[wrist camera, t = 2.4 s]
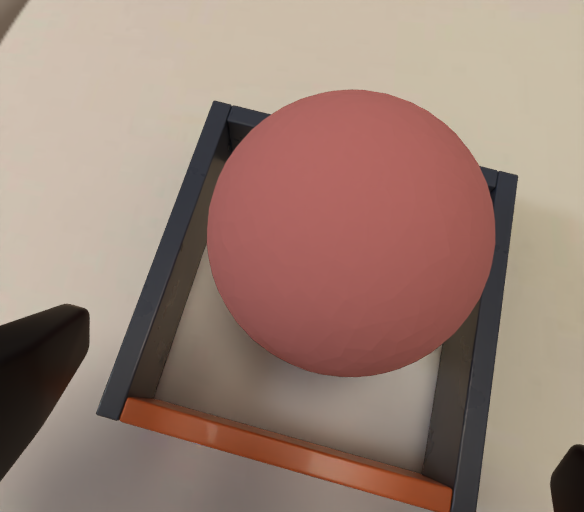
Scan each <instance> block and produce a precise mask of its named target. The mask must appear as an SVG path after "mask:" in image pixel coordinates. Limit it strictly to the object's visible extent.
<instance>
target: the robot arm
mask: <svg viewBox="0 0 584 512" xmlns="http://www.w3.org/2000/svg"><path fill="white" fill-rule="evenodd" d="M89 324H90V317H89V312H88V310H87V309H85V308H82V307H79V306H75V305H71V304H63V305H60V306H57V307H54V308H51V309H48V310H45V311H42V312H39V313H36V314H33V315H30V316H27V317H24V318H21V319H18V320H16V321H13V322H10V323H7V324H4V325H1V326H0V481H1V480H2V479H3V477H4V476H5V475H6V473H7V472H8V471H9V469H10V468H11V467H12V466H13V464H14V463H15V462H16V460H17V459H18V458H19V456H20V455H21V454H22V453H23V451H24V450H25V449H26V447H27V446H28V445H29V443H30V442H31V441H32V439H33V438H34V437H35V435H36V434H37V433H38V431H39V430H40V429H41V427H42V426H43V424H44V423H45V421H46V420H47V418H48V417H49V415H50V413H51V412H52V410H53V408H54V407H55V405H56V404H57V402H58V400H59V399H60V397H61V395H62V394H63V392H64V390H65V389H66V387H67V386H68V384H69V382H70V381H71V379H72V377H73V376H74V374H75V372H76V371H77V369H78V368H79V366H80V364H81V363H82V361H83V359H84V358H85V356H86V354H87V352H88V348H89ZM550 488H551V495H552V502H553V509H554V512H584V445H581V444H576V445H574V446H572V447H571V448H570V449H569V450H568V452H567V453H566V455H565V456H564V458H563V459H562V460H561V462H560V463H559V465H558V466H557V467H556V469H555V470H554V472H553V474H552V476H551V481H550Z"/></svg>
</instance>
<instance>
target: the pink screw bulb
mask: <svg viewBox="0 0 584 512" xmlns="http://www.w3.org/2000/svg"><path fill="white" fill-rule="evenodd" d="M207 248H208V255H209V262H210V266H211V270H212V274H213V278H214V280H215V283H216V286H217V289H218V291H219V293H220V295H221V297H222V299H223V301H224V303H225V304H226V306H227V308H228V309H229V311H230V313H231V314H232V316H233V317H234V319H235V320H236V322H237V323H238V324H239V325H240V326H241V327H242V328H243V329H244V330H245V332H246V333H247V334H248V335H249V336H250V337H251V338H252V339H253V340H254V341H256V342H257V343H258V344H259V345H261V346H262V347H263V348H265V349H266V350H267V351H269V352H270V353H271V354H273V355H275V356H277V357H278V358H280V359H282V360H284V361H286V362H288V363H290V364H292V365H294V366H297V367H299V368H302V369H304V370H307V371H310V372H314V373H318V374H323V375H331V376H338V377H362V376H372V375H377V374H382V373H386V372H390V371H393V370H397V369H400V368H402V367H404V366H407V365H409V364H412V363H414V362H416V361H418V360H419V359H421V358H423V357H425V356H426V355H428V354H430V353H431V352H433V351H434V350H435V349H437V348H438V347H439V346H440V345H441V344H443V343H444V342H445V341H446V340H447V339H449V338H450V337H451V336H452V335H453V334H454V333H455V332H456V331H457V330H458V329H459V327H460V326H461V325H462V324H463V323H464V321H465V320H466V319H467V318H468V316H469V315H470V313H471V311H472V310H473V308H474V307H475V305H476V304H477V302H478V301H479V299H480V297H481V295H482V292H483V289H484V287H485V284H486V282H487V279H488V277H489V274H490V269H491V265H492V260H493V255H494V249H495V218H494V210H493V203H492V199H491V196H490V192H489V189H488V185H487V182H486V180H485V178H484V176H483V173H482V171H481V169H480V167H479V165H478V163H477V161H476V160H475V158H474V157H473V155H472V154H471V152H470V151H469V149H468V148H467V147H466V146H465V144H464V143H463V142H462V141H461V139H460V138H459V137H458V136H457V135H456V133H455V132H453V131H452V130H451V129H450V128H449V127H448V126H447V125H446V124H445V123H443V122H442V121H441V120H439V119H438V118H437V117H435V116H434V115H432V114H431V113H430V112H428V111H427V110H425V109H423V108H421V107H419V106H417V105H415V104H413V103H411V102H409V101H406V100H403V99H400V98H397V97H395V96H392V95H389V94H385V93H379V92H372V91H366V90H339V91H330V92H325V93H320V94H317V95H313V96H309V97H306V98H303V99H300V100H298V101H296V102H293V103H291V104H289V105H287V106H285V107H283V108H281V109H279V110H278V111H276V112H275V113H273V114H272V115H270V116H268V117H267V118H265V119H264V120H263V121H262V122H260V123H259V124H258V125H257V126H256V127H254V128H253V129H252V130H251V131H250V132H249V133H248V134H247V136H246V137H245V138H244V139H243V140H242V141H241V142H240V143H239V145H238V146H237V147H236V148H235V150H234V151H233V153H232V154H231V155H230V157H229V158H228V160H227V161H226V163H225V165H224V167H223V169H222V171H221V173H220V175H219V177H218V180H217V183H216V186H215V189H214V192H213V195H212V199H211V203H210V206H209V214H208V225H207Z"/></svg>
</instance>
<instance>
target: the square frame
mask: <svg viewBox="0 0 584 512" xmlns="http://www.w3.org/2000/svg"><path fill="white" fill-rule="evenodd" d="M270 115H271V114H267V113H263V112H258V111H254V110H250V109H246V108H242V107H238V106H234V105H233V106H232V105H230V104H226V103H222V102H218V101H213V103H212V106H211V109H210V111H209V114H208V117H207V119H206V122H205V125H204V127H203V130H202V132H201V135H200V138H199V140H198V143H197V146H196V148H195V151H194V154H193V156H192V159H191V162H190V164H189V167H188V170H187V172H186V175H185V178H184V180H183V183H182V186H181V188H180V191H179V194H178V196H177V199H176V202H175V204H174V207H173V210H172V212H171V215H170V218H169V220H168V223H167V226H166V228H165V231H164V234H163V236H162V239H161V242H160V244H159V247H158V249H157V252H156V255H155V257H154V260H153V263H152V265H151V268H150V271H149V273H148V276H147V279H146V281H145V284H144V287H143V289H142V292H141V295H140V297H139V300H138V303H137V305H136V308H135V311H134V313H133V316H132V319H131V321H130V324H129V327H128V329H127V332H126V335H125V337H124V340H123V343H122V345H121V348H120V351H119V353H118V356H117V359H116V361H115V364H114V367H113V369H112V372H111V374H110V377H109V380H108V382H107V385H106V388H105V390H104V393H103V396H102V398H101V401H100V404H99V406H98V409H97V412H96V414H97V415H98V416H102V417H105V418H109V419H112V420H116V421H117V420H120V421H121V422H123V423H127V424H130V425H134V426H137V427H141V428H144V429H148V430H151V431H155V432H158V433H162V434H165V435H169V436H172V437H176V438H179V439H183V440H186V441H190V442H193V443H197V444H200V445H204V446H207V447H211V448H214V449H218V450H221V451H225V452H228V453H232V454H235V455H239V456H242V457H246V458H249V459H253V460H256V461H260V462H263V463H267V464H270V465H274V466H277V467H281V468H284V469H288V470H291V471H295V472H298V473H302V474H305V475H309V476H312V477H316V478H319V479H323V480H326V481H330V482H333V483H337V484H340V485H344V486H347V487H351V488H354V489H358V490H361V491H365V492H368V493H372V494H375V495H379V496H382V497H386V498H389V499H393V500H396V501H400V502H403V503H407V504H410V505H414V506H417V507H421V508H424V509H428V510H431V511H435V512H476V507H477V499H478V491H479V483H480V475H481V467H482V459H483V451H484V443H485V435H486V427H487V420H488V412H489V404H490V396H491V388H492V380H493V372H494V364H495V356H496V348H497V340H498V332H499V324H500V316H501V308H502V300H503V292H504V284H505V276H506V268H507V260H508V252H509V245H510V237H511V229H512V221H513V213H514V205H515V197H516V189H517V181H518V176H517V175H514V174H510V173H506V172H502V171H497V170H493V169H489V168H485V167H481V166H479V167H480V169H481V171H482V173H483V176H484V178H485V180H486V182H487V185H488V189H489V192H490V196H491V199H492V203H493V210H494V218H495V249H494V255H493V260H492V265H491V269H490V274H489V277H488V279H487V282H486V284H485V287H484V289H483V292H482V295H481V297H480V299H479V301H478V302H477V304H476V305H475V307H474V308H473V310H472V311H471V313H470V315H469V316H468V318H467V319H466V320H465V321H464V323H463V324H462V325H461V326H460V327H459V329H458V330H457V331H456V332H455V333H454V334H453V335H452V336H451V337H450V338H449V339H447V340H446V341H445V342H444V343H443V348H442V354H441V360H440V366H439V373H438V379H437V385H436V391H435V397H434V404H433V410H432V416H431V422H430V428H429V435H428V441H427V447H426V453H425V459H424V465H423V472H422V474H420V473H417V472H413V471H410V470H406V469H402V468H399V467H395V466H392V465H388V464H385V463H381V462H378V461H374V460H371V459H367V458H363V457H360V456H356V455H353V454H349V453H346V452H342V451H339V450H335V449H331V448H328V447H324V446H321V445H317V444H314V443H310V442H307V441H303V440H300V439H296V438H292V437H289V436H285V435H282V434H278V433H275V432H271V431H268V430H264V429H261V428H257V427H253V426H250V425H246V424H243V423H239V422H236V421H232V420H229V419H225V418H222V417H218V416H214V415H211V414H207V413H204V412H200V411H197V410H193V409H190V408H186V407H183V406H179V405H175V404H172V403H168V402H165V401H161V400H158V399H153V396H154V393H155V390H156V388H157V385H158V382H159V379H160V376H161V373H162V370H163V367H164V364H165V361H166V358H167V355H168V353H169V350H170V347H171V344H172V341H173V338H174V335H175V332H176V329H177V326H178V323H179V321H180V318H181V315H182V312H183V309H184V306H185V303H186V300H187V297H188V294H189V291H190V288H191V286H192V283H193V280H194V277H195V274H196V271H197V268H198V265H199V262H200V259H201V256H202V253H203V251H204V248H205V245H206V242H207V225H208V214H209V206H210V203H211V199H212V195H213V192H214V189H215V186H216V183H217V180H218V177H219V175H220V173H221V171H222V169H223V167H224V165H225V163H226V161H227V160H228V158H229V157H230V155H231V154H232V153H233V151H234V150H235V148H236V147H237V146H238V145H239V143H240V142H241V141H242V140H243V139H244V138H245V137H246V136H247V134H248V133H249V132H250V131H251V130H252V129H253V128H254V127H256V126H257V125H258V124H259V123H260V122H262V121H263V120H264V119H265V118H267V117H268V116H270Z"/></svg>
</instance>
